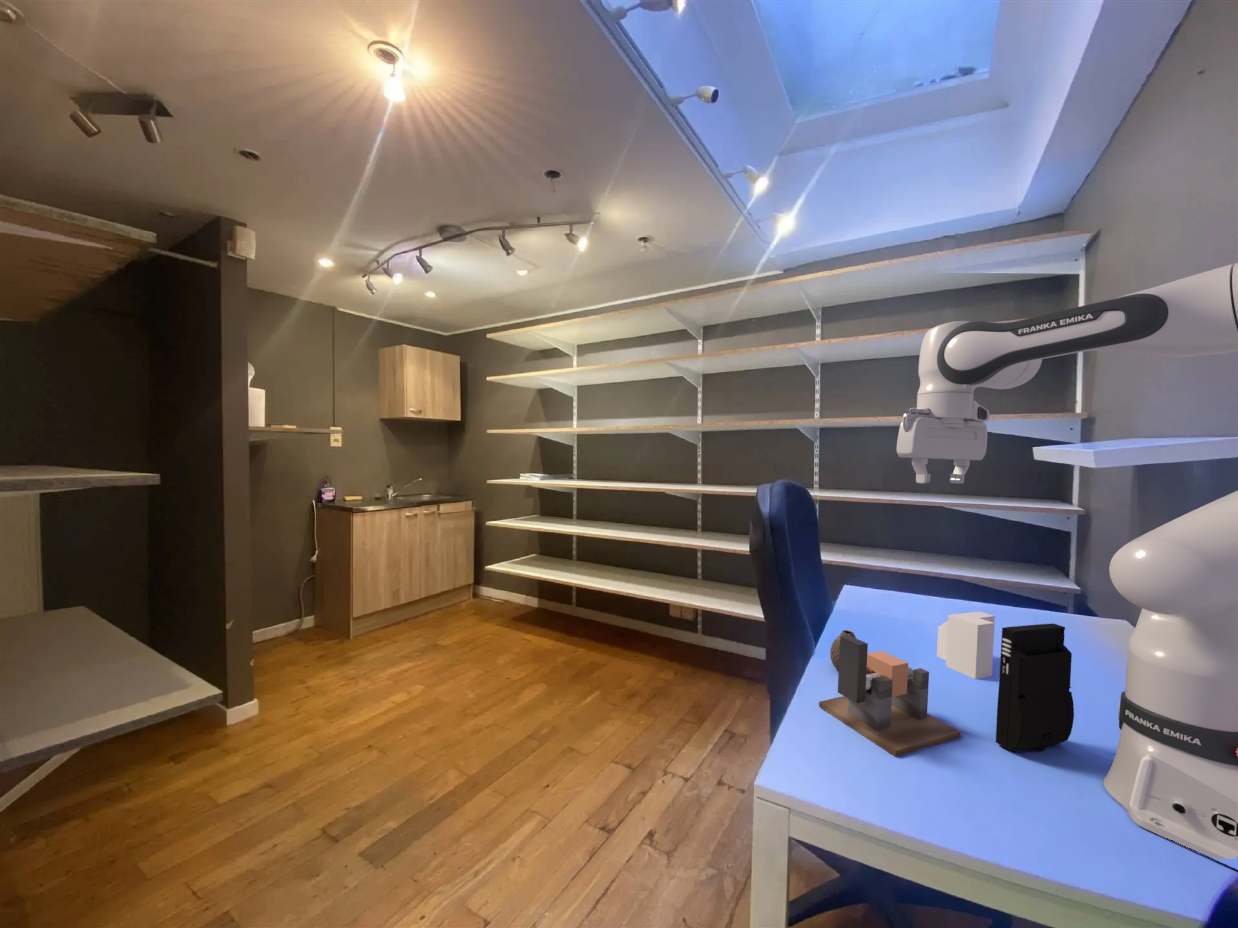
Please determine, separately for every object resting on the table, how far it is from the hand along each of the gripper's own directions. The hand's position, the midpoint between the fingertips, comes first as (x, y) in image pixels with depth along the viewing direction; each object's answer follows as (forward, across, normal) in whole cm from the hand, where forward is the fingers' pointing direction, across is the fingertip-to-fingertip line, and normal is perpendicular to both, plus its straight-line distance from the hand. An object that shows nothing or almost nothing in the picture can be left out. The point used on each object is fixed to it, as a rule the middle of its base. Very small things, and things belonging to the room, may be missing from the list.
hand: (940, 483), depth 92 cm
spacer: (+37, -13, -1) cm, 39 cm away
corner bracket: (+44, +28, +11) cm, 53 cm away
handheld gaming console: (+44, +5, -15) cm, 46 cm away
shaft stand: (+43, -12, -1) cm, 45 cm away
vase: (+44, -2, +17) cm, 47 cm away
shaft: (+37, -15, -1) cm, 40 cm away
